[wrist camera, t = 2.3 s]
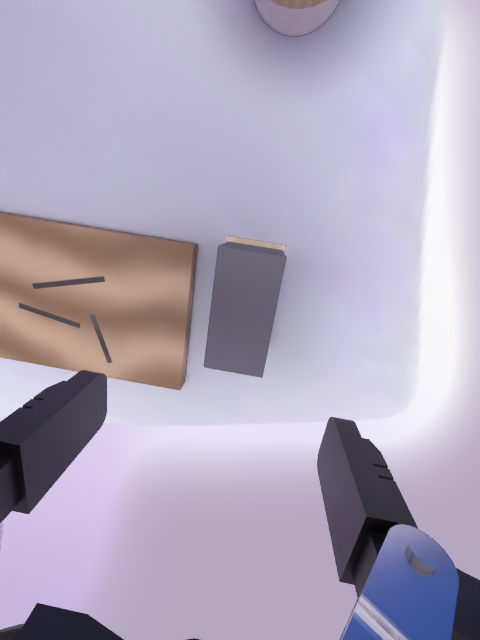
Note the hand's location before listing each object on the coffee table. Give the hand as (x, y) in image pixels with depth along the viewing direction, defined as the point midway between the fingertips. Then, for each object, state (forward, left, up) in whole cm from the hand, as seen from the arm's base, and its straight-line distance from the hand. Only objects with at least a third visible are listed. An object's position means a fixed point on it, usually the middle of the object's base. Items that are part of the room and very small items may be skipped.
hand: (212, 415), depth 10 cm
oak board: (+3, -16, -17) cm, 23 cm away
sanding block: (0, 0, -17) cm, 17 cm away
